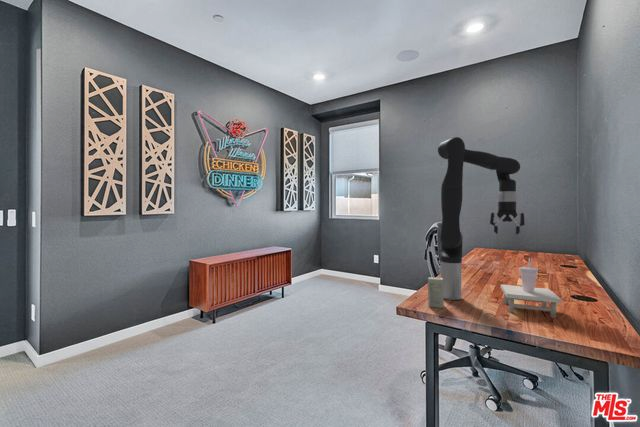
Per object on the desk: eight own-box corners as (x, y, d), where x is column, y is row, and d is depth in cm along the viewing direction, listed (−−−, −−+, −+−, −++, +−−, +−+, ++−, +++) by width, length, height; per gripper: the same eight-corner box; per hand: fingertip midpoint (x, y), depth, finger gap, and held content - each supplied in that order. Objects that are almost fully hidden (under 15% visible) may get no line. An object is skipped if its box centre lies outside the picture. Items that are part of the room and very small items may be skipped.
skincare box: (443, 305, 133) (444, 277, 133) (443, 308, 129) (443, 280, 129) (428, 303, 136) (428, 276, 135) (427, 306, 132) (427, 278, 131)
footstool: (506, 313, 124) (506, 293, 123) (500, 301, 138) (500, 284, 138) (560, 319, 116) (561, 299, 116) (548, 307, 131) (548, 288, 131)
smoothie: (521, 292, 125) (521, 258, 125) (517, 288, 131) (518, 256, 131) (539, 294, 123) (540, 259, 123) (535, 290, 129) (536, 257, 128)
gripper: (491, 200, 148) (490, 234, 148) (526, 200, 142) (525, 235, 142) (489, 201, 155) (489, 232, 155) (522, 201, 149) (521, 233, 149)
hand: (506, 233), depth 149 cm, fingers open, 8 cm apart
